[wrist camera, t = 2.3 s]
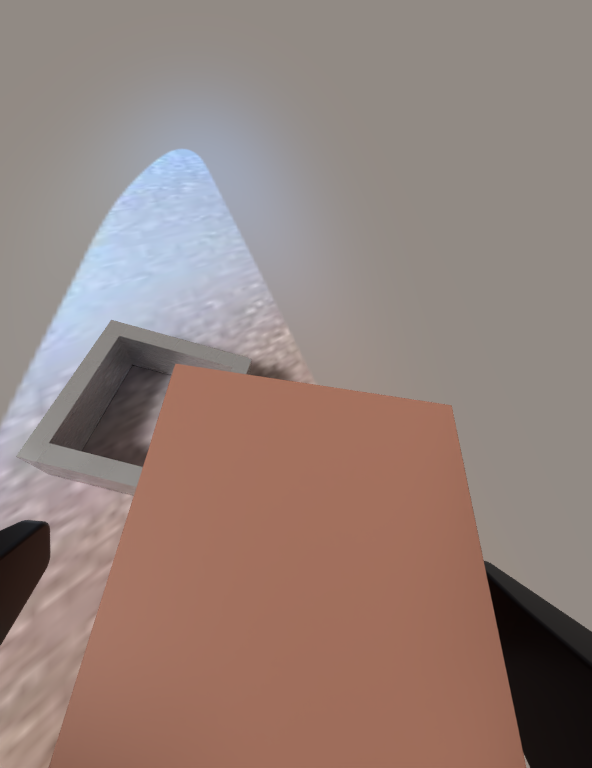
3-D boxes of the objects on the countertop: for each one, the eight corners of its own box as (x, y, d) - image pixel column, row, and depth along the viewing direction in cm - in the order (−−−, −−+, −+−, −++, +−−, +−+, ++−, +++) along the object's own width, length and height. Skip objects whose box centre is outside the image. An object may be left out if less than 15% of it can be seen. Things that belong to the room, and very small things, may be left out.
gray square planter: (205, 513, 14) (201, 503, 12) (48, 474, 14) (16, 456, 12) (248, 384, 18) (251, 358, 16) (125, 350, 18) (111, 319, 16)
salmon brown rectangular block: (293, 625, 13) (537, 823, 3) (191, 619, 12) (25, 836, 2) (299, 518, 15) (451, 405, 5) (211, 510, 14) (175, 363, 4)
